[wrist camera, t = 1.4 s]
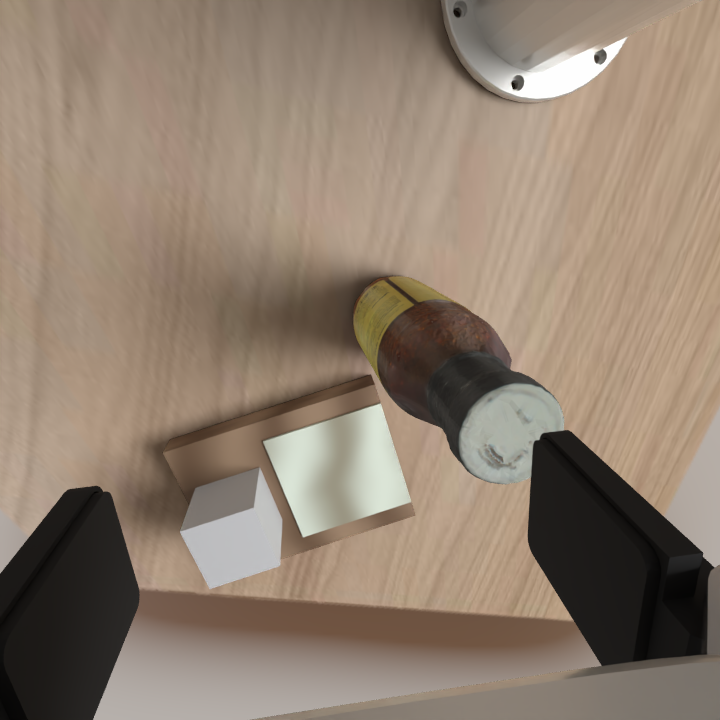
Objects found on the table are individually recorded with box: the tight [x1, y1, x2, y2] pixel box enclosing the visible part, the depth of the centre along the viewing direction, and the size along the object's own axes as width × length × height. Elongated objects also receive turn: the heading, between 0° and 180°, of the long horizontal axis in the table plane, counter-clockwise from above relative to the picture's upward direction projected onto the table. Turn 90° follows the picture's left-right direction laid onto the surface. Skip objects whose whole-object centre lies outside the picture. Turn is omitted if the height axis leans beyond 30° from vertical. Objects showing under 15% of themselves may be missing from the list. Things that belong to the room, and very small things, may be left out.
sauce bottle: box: [353, 276, 564, 484], centre depth 26 cm, size 7×6×20 cm
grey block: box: [180, 467, 282, 589], centre depth 34 cm, size 5×5×5 cm
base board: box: [163, 375, 415, 560], centre depth 38 cm, size 16×12×2 cm
